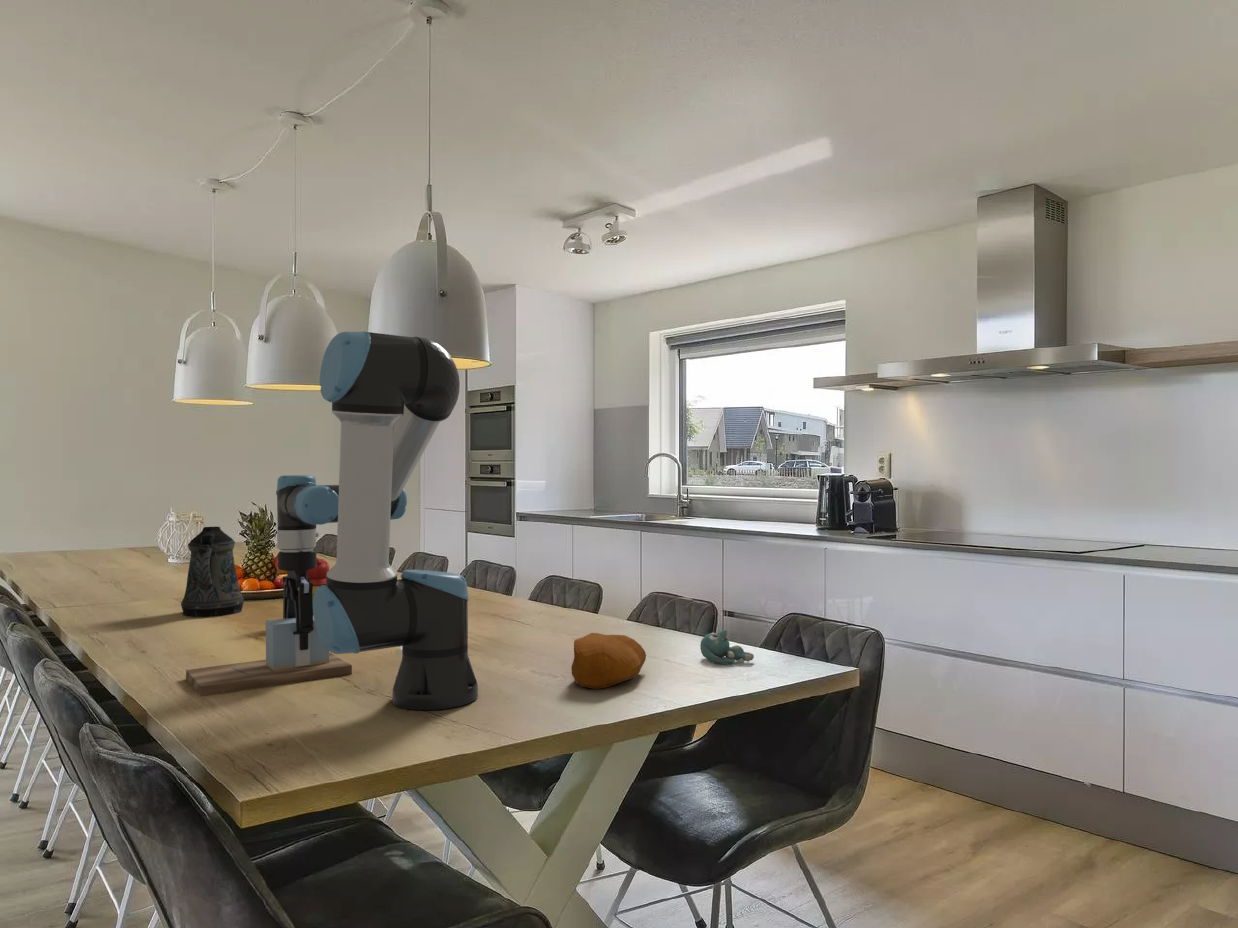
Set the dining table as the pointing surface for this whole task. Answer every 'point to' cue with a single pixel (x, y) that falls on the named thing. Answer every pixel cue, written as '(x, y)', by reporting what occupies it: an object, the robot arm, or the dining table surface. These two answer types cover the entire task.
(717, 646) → the stuffed animal
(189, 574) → the beer stein
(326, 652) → the sanding block
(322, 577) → the stacking bear
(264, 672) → the board
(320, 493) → the robot arm
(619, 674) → the bread
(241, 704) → the dining table surface
